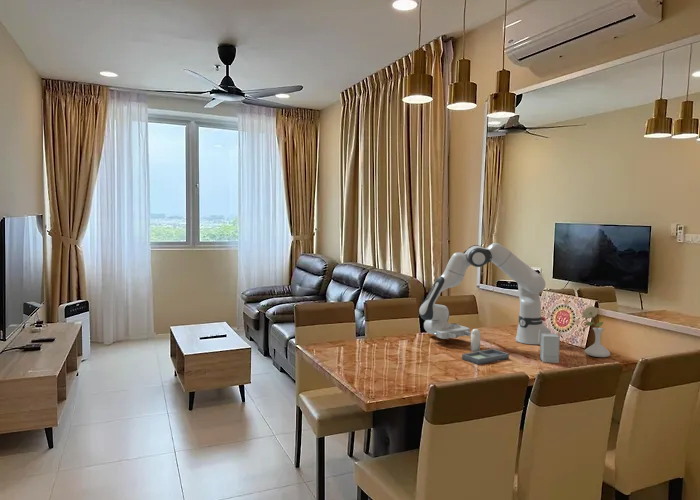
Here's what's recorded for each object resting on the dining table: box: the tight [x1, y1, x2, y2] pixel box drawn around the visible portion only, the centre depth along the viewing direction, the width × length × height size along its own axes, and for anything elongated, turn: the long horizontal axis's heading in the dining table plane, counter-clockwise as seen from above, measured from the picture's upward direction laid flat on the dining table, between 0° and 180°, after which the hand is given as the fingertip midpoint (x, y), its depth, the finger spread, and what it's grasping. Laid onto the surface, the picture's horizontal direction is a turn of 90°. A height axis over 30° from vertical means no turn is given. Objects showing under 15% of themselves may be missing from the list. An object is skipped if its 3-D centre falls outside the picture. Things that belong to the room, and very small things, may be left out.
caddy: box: [461, 348, 510, 366], centre depth 233 cm, size 20×11×2 cm, turn 120°
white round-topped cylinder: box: [470, 328, 481, 352], centre depth 248 cm, size 5×5×11 cm
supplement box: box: [539, 332, 560, 364], centre depth 230 cm, size 7×7×13 cm
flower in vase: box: [581, 305, 611, 358], centre depth 238 cm, size 13×11×25 cm
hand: (463, 335), depth 256 cm, fingers open, 8 cm apart
